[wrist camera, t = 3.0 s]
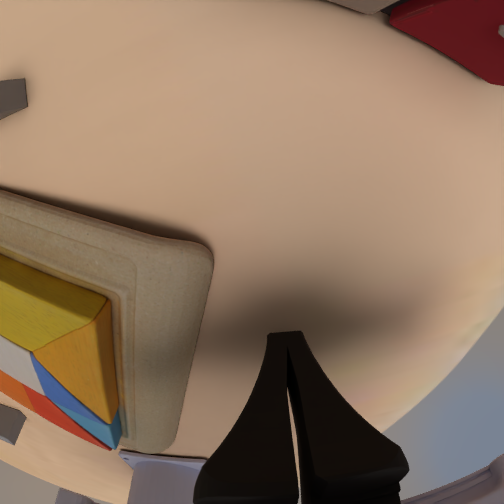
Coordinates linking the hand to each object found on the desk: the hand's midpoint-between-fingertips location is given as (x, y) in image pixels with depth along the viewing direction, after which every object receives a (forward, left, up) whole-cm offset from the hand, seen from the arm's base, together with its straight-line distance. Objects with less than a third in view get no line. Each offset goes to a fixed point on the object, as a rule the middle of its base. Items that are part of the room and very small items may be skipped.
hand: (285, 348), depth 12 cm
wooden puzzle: (0, +14, -2) cm, 14 cm away
